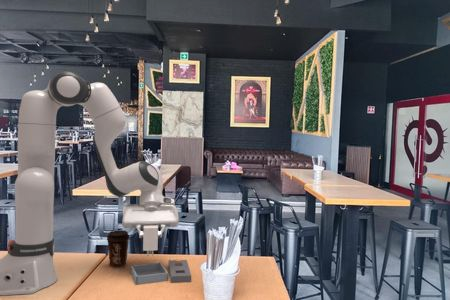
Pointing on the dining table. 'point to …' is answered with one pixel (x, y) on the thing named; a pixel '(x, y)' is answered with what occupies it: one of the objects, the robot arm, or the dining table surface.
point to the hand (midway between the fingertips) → (150, 237)
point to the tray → (149, 273)
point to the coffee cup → (117, 248)
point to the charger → (150, 238)
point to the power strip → (179, 271)
